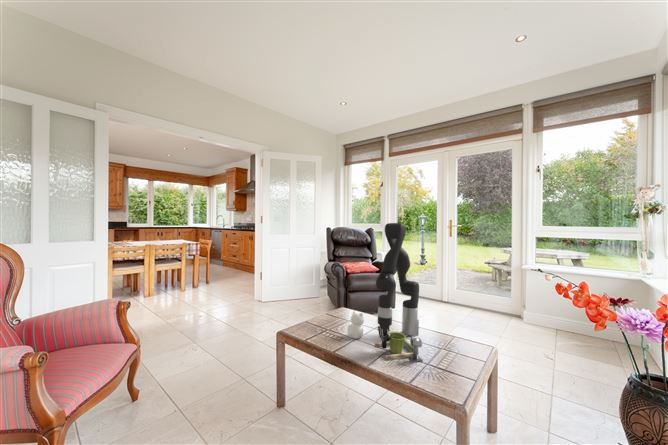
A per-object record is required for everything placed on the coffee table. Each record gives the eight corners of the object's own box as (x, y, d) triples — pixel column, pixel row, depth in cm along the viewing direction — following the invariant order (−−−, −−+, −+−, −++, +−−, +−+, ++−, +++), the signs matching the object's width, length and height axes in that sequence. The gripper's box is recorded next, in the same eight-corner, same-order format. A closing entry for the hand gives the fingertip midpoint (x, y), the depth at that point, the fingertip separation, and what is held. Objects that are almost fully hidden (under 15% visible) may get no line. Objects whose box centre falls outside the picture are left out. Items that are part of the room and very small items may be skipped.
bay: (403, 343, 153) (403, 338, 153) (418, 356, 138) (418, 350, 138) (374, 346, 149) (374, 340, 149) (386, 359, 134) (386, 353, 134)
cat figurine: (366, 336, 162) (367, 312, 162) (354, 342, 153) (355, 316, 153) (355, 332, 168) (356, 308, 168) (342, 337, 159) (343, 312, 159)
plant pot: (406, 350, 145) (407, 334, 145) (403, 357, 137) (403, 340, 137) (389, 346, 149) (390, 330, 149) (385, 353, 141) (385, 336, 141)
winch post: (417, 356, 138) (417, 331, 138) (422, 361, 133) (423, 335, 133) (404, 357, 136) (405, 332, 136) (409, 362, 131) (410, 336, 132)
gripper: (397, 318, 136) (396, 353, 136) (385, 310, 149) (384, 342, 148) (383, 319, 134) (382, 354, 134) (373, 311, 147) (372, 343, 146)
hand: (383, 347), depth 141 cm, fingers closed
